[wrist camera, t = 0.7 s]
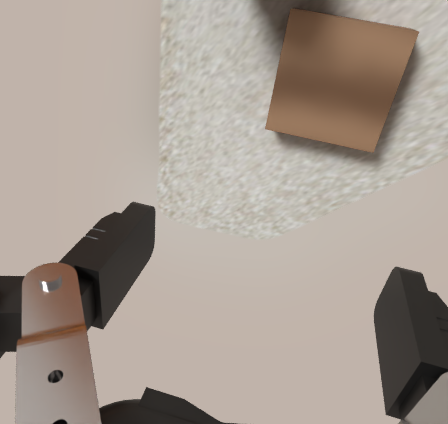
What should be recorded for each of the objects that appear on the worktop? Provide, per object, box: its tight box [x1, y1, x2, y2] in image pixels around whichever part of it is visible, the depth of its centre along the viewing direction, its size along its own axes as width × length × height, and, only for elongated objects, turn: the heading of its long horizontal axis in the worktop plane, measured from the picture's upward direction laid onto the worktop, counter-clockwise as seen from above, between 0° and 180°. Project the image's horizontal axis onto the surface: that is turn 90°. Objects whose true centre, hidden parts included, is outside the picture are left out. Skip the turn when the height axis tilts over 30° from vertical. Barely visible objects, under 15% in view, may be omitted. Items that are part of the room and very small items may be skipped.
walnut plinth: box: [265, 8, 419, 153], centre depth 30 cm, size 9×9×3 cm
